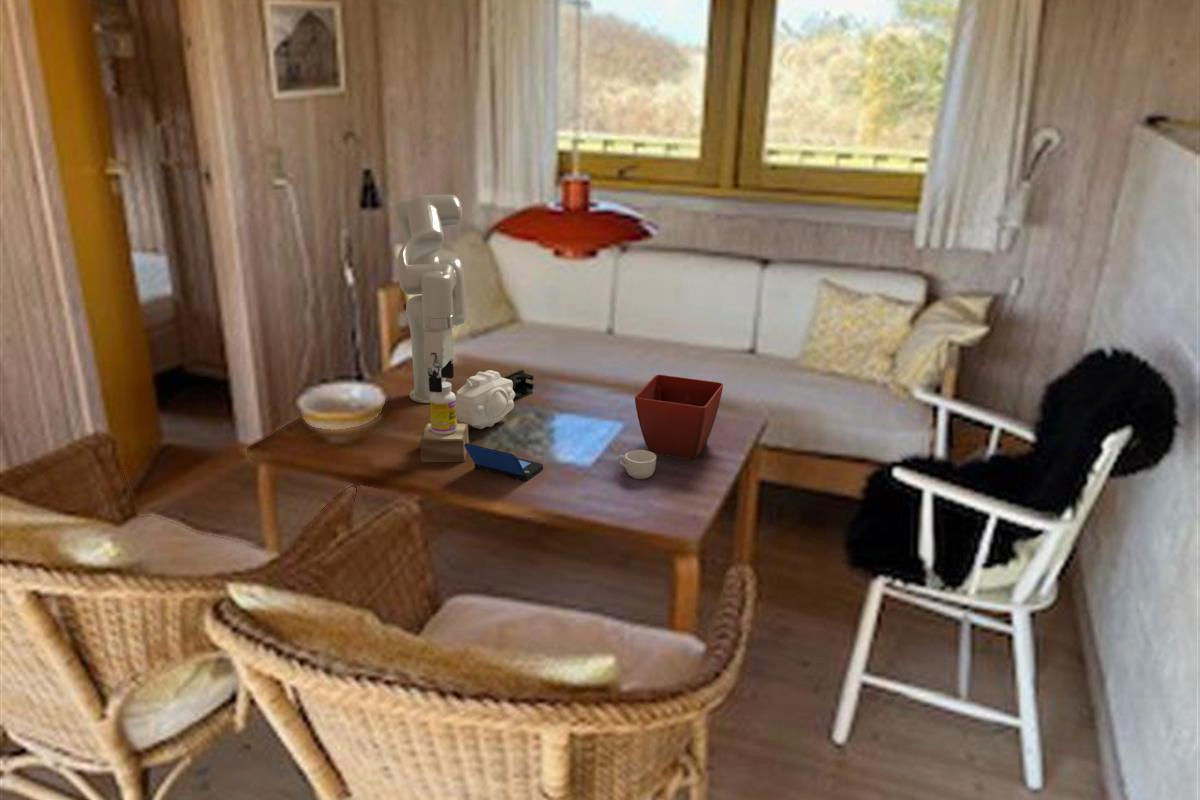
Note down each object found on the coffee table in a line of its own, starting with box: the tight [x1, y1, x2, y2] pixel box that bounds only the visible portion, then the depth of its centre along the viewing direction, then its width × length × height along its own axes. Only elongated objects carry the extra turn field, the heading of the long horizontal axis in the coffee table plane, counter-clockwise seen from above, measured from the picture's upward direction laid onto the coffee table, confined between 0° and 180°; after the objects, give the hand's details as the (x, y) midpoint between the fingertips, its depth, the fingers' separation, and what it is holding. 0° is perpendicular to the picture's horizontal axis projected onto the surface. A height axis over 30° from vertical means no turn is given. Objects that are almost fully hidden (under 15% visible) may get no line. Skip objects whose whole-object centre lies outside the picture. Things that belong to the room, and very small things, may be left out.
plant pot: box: [634, 374, 724, 461], centre depth 245 cm, size 19×19×17 cm
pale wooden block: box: [419, 423, 470, 463], centre depth 242 cm, size 11×11×6 cm
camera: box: [455, 369, 515, 430], centre depth 258 cm, size 11×18×16 cm, turn 143°
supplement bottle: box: [429, 381, 458, 435], centre depth 239 cm, size 7×7×13 cm
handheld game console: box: [464, 443, 544, 483], centre depth 232 cm, size 16×13×9 cm
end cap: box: [501, 369, 534, 402], centre depth 282 cm, size 10×7×7 cm
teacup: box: [617, 449, 657, 480], centre depth 232 cm, size 10×8×5 cm
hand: (441, 384), depth 237 cm, fingers open, 9 cm apart
